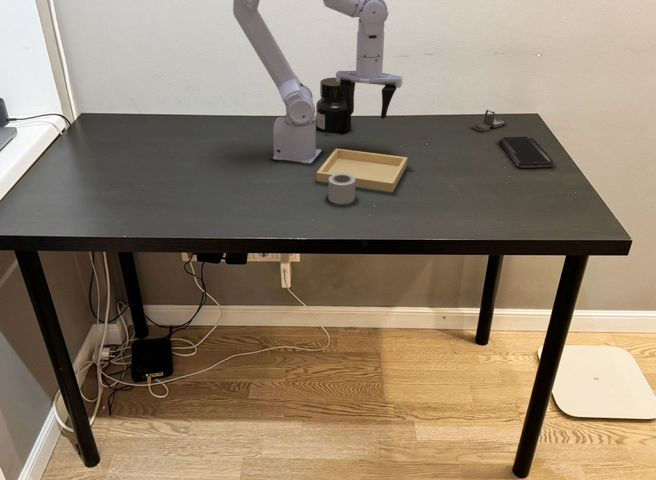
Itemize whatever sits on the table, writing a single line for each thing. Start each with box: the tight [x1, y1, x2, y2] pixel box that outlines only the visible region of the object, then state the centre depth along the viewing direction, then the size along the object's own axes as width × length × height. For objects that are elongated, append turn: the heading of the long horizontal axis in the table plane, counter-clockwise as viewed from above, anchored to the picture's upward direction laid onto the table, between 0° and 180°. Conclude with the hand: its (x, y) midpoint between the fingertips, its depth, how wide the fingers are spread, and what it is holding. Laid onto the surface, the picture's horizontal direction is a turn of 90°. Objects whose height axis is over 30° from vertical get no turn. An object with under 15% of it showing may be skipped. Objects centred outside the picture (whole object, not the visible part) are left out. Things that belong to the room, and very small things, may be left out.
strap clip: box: [472, 109, 505, 132], centre depth 163 cm, size 8×3×4 cm, turn 122°
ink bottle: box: [315, 77, 352, 135], centre depth 162 cm, size 10×9×12 cm
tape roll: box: [327, 173, 356, 205], centre depth 131 cm, size 5×5×5 cm
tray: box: [316, 147, 408, 193], centre depth 141 cm, size 17×14×3 cm
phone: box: [499, 136, 554, 169], centre depth 149 cm, size 8×1×15 cm
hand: (367, 115), depth 146 cm, fingers open, 7 cm apart
